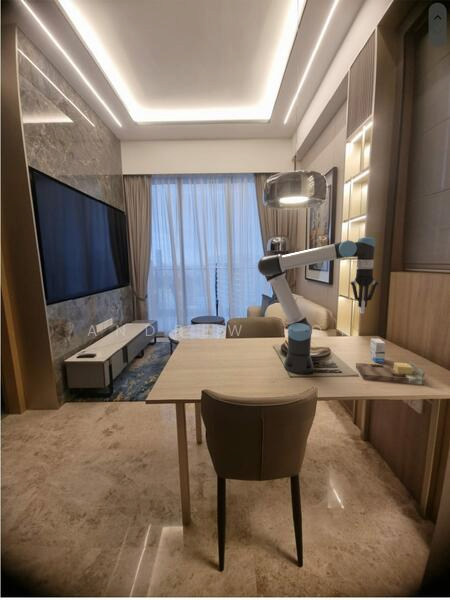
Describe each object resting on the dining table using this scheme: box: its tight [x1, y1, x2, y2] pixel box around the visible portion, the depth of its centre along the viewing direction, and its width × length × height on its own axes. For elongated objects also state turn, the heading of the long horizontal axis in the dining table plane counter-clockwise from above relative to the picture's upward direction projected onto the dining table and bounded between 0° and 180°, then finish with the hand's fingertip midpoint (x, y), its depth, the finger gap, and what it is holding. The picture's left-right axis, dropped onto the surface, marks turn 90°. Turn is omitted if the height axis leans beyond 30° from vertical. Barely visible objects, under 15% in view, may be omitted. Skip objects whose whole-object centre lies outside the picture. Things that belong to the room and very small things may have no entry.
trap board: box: [355, 360, 425, 386], centre depth 122 cm, size 25×14×6 cm, turn 75°
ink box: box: [369, 338, 386, 364], centre depth 141 cm, size 9×5×12 cm, turn 168°
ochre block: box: [393, 361, 413, 375], centre depth 121 cm, size 6×5×4 cm
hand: (361, 313), depth 131 cm, fingers closed
